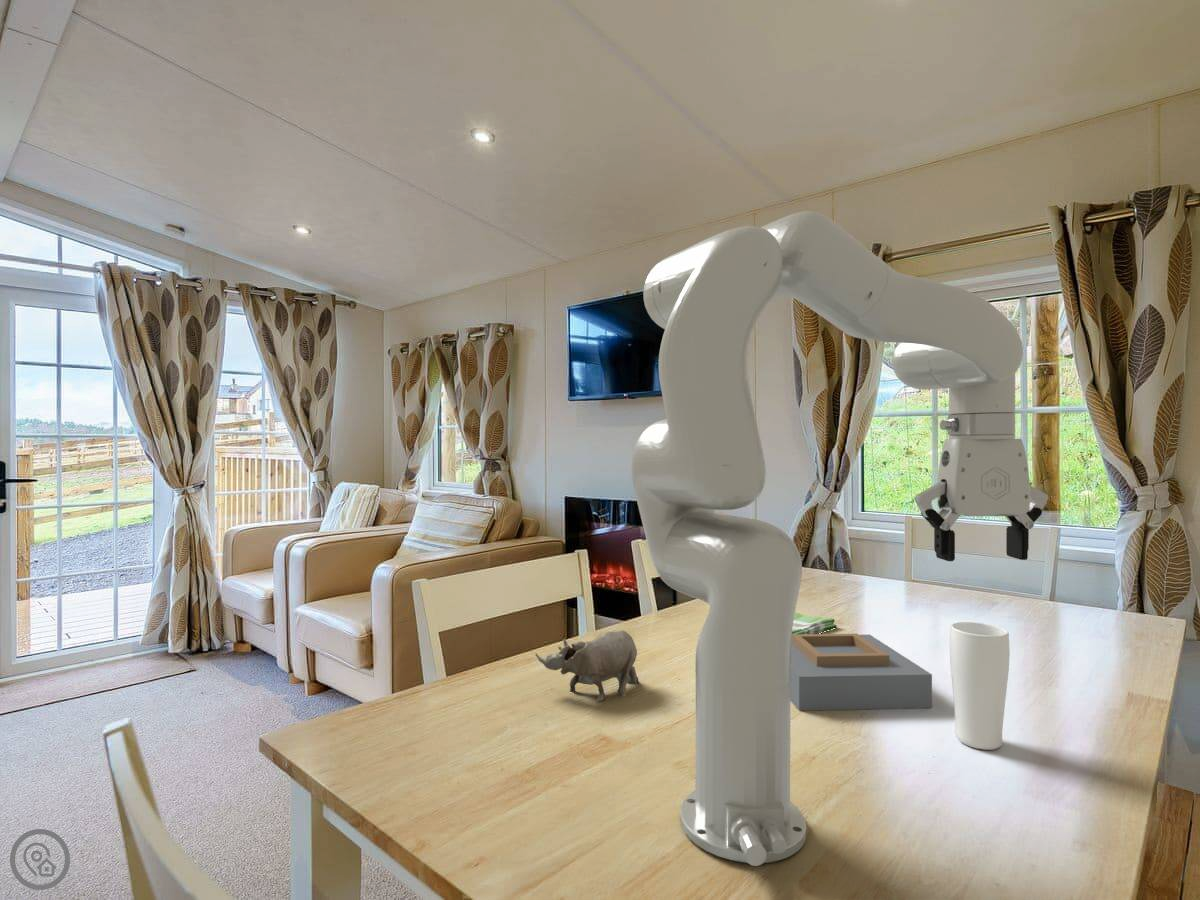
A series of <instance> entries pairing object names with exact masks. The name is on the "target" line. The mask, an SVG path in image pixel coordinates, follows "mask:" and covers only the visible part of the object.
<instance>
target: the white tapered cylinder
mask: <svg viewBox="0 0 1200 900" xmlns="http://www.w3.org/2000/svg"><path fill="white" fill-rule="evenodd" d="M1010 654H1011V653H1010V633H1009V631H1008V630H1006V629H1004V628H1002V627H1000V626H996V625H993V624H988V623H982V622H974V621H973V622H972V621H971V622H970V621H960V622H954V623H953V624H951V625H950V634H949V660H950V661H949V662H950V675H951V685H952V695H953V708H954V709H953V710H954V726H955V727H954V733H955V737H956V739H957V740H958V741H959V742H961V743H962V744H964V745H966V746H968V747H971V748H973V749H978V750H984V751H993V750H998V749H999V748H1000V747H1001V746H1002V744H1003V729H1004V728H1003V727H1004V717H1005V707H1006V700H1007V698H1006V697H1007V691H1008V690H1007V688H1008V681H1009V671H1010Z"/></svg>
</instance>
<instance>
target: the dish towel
mask: <svg viewBox="0 0 1200 900" xmlns="http://www.w3.org/2000/svg"><path fill="white" fill-rule="evenodd" d="M837 627H838V626H837V624H835V619H834V618H831V617H818V616H812V615H805V614H804V615H803V614H801V613H798V612H797V611H795V614H794V620H793V628H792V634H819V633H821V632H822V633H823V632H824V631H827V630H831V629H833V628H836V629H838V628H837ZM823 634H824V633H823Z"/></svg>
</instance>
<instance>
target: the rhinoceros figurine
mask: <svg viewBox="0 0 1200 900" xmlns="http://www.w3.org/2000/svg"><path fill="white" fill-rule="evenodd" d="M563 646H564V647H563V648H562V646H558V647H557V648H558V650H559V652H557V653H555V654H552V653H548V655H547V656H546V657H545V658H543V657H541V656H539V654H537V652H535V656H536V658H537V660H538V661H539V662H540V663H541V664H542V665H544V667H545V668H546V669H548V670H550V671H558V670H560V673H561V675H566V674H567V673H572V674H574V676H572V678H571V679H570V682H569V687H570V688H569V691H568V693H569V692H572V693H571V694H573V693H575V691H576V685H577V684H578V683H579V684H582V685H589V686H590V685H591V686H592V685H595V686H597V689H598V693H599V694H598V695H597V699H596V702H597V703H600V702H602V701H603V700H605V695H606V693H605V689H604V687H603V682H606V681H608V680H611V679H613V678H614V679H617V681H618V689H617V690H616V692H617V696H619V697H626V696H627V687H626V686H627V685H628V684H629V685H631V686H632V685H633V686H634V685H638V683H639V677H638V676H637V671H636V667H635V666H634V664H635V662H636V659H637V656H638V654H637V653H638V649H637V645H636V643H635V641H634V639H633V638H632V636H631V634H630V633H628V631H626V630H622V629H621V630H615V631H606V632H604V633H602V634H600V635H599V636H597V637H595V638H594V639H593V640H591V641H585V642H584V641H582V640H579V641H575V642H572V643H571V646H570V645H569V643H568V641H567V639H565V638H563Z"/></svg>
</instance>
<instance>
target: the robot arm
mask: <svg viewBox="0 0 1200 900" xmlns="http://www.w3.org/2000/svg"><path fill="white" fill-rule="evenodd" d="M642 294H643V303H644V307H645V309H646V312H647V314H648V315H649V317H650V319H651V320H652V321H653V322H654V323H655V324H656V325H657V326H659V327H660V328H661V329H663V330H664V332H663V334H662V339H661V343H660V348H659V353H658V377H659V378H658V380H659V385H660V390H661V396H662V402H663V407H664V413H665V418H664V419H662V420H658V421H655V422H653V423H652V424H651V425H649V426H648V427H646V429H644V430H643V432H642V433H641V434H640V436H639V437H638V439H637V441H636V443H635V445H634V449H633V452H632V457H631V469H630V470H631V480H632V486H633V490H634V494H635V499H636V502H637V506H638V511H639V516H640V519H641V520H640V521H641V523H642V527H643V532H644V535H645V539H646V544H647V548H648V552H649V554H650V558H651V561H652V564H653V566H654V569H655V571H656V573H657V575H658V576H659V578H660V579H661V580H662V582H664V584H666V586H668V587H670V588H671V589H673V590H675V591H677V592H678V593H680V594H683V595H686V596H688V597H692V598H694V599H697V600H699V601H702V602H705V603H707V604H709V609H708V614H707V616H706V619H705V620H704V623H703V625H702V628H701V630H700V633H699V635H698V638H697V642H696V643H697V644H696V647H695V648H696V649H695V778H694V779H695V783H694V784H695V785H694V786H695V790H693V791H692V792H691V793H690V794H688V795H687V796H686V797H685V799H683V801H682V804H681V806H680V814H679V815H680V817H679V819H680V824H681V825H680V826H681V828H682V830H683V831H684V834H685V835H686V836H687V837H688V839H689V840H690V841H691V842H693V843H694V844H695V845H696V846H697V847H699V848H701V849H702V850H705V851H706V852H708V853H710V854H712V855H714V856H717V857H719V858H722V859H726V860H729V861H733V862H739V863H746V864H749V865H750V866H752V867H753V866H754V867H758V866H760V865H763V864H766V863H773V862H778V861H781V860H784V859H787V858H789V857H791V856H793V855H794V854H796V853H797V852H799V851H800V849H801V848H802V847H803V846H804V844H805V842H806V839H807V822H806V818H805V816H804V813H802V811H801V810H800V809H799V807H797V805H795V804H794V803H793V802H792V801H791V701H790V700H791V641H792V628H793V620H794V614H795V612H796V608H797V602H798V599H799V594H800V589H801V584H802V578H803V566H802V565H803V563H802V557H801V554H800V551H799V549H798V547H797V545H796V543H795V542H794V541H793V539H792V538H791V537H790V536H789V535H788V534H787V533H786V532H785V531H783V530H782V529H781V528H779V527H777V526H776V525H773V524H771V523H768V522H766V521H762V520H759V519H754V518H749V517H743V516H736V515H729V514H721V513H720V514H719V513H716V511H717V510H721V511H722V510H723V511H725V510H727V511H732V510H738V509H742V508H745V507H748V506H749V505H751V504H752V503H755V501H756V500H757V499H758V498H759V497H760V495H761V494H762V492H763V489H764V488H765V484H766V474H767V473H766V462H765V455H764V451H763V444H762V441H761V437H760V431H759V426H758V422H757V417H756V413H755V408H754V402H753V399H752V394H751V389H750V385H749V384H750V383H749V377H748V369H747V354H748V346H749V344H750V343H749V342H750V339H751V336H752V334H753V332H754V331H753V330H754V328H755V326H756V324H757V323H758V320H759V318H760V317H761V315H762V314H763V312H764V310H765V309H766V307H767V306H768V305H769V303H773V302H776V301H780V300H783V299H789V298H790V299H794V300H797V301H798V302H800V303H801V304H802V305H804V306H806V307H807V308H809V309H810V310H812V311H813V312H814V313H816V314H817V315H818V316H820V317H822V318H824V319H825V320H826V321H827V322H828V323H830V324H832V325H833V326H834V327H836V328H838V330H840V331H841V332H843V333H844V334H845V335H848V336H850V337H853V338H857V339H861V340H868V341H874V342H881V343H897V346H896V347H895V349H894V351H893V353H892V358H891V365H892V369H893V372H894V374H895V376H896V377H897V379H898V380H899V381H900V382H901V383H903V384H904V385H905V386H908V387H909V388H912V389H917V390H939V389H948V415H947V418H946V419H942V420H940V422H939V427H940V430H941V431H947V435H948V439H947V438H946V439H944V441H943V443H942V448H941V451H940V459H939V466H938V470H937V471H938V474H937V483H936V484H934V485H932V486H931V487H929V488H927V489H924V490H923V491H921V492H920V493H918V494H916V495H915V496H914V502H915V503H916V506H917V507H918V509H919V510H920V514H921V516H922V517H923V518H924V519H925V520H926V521H927V523H929V526H930V527H931V528H933V529H934V530H933V531H934V533H933V536H934V537H933V538H934V539H933V540H934V542H933V544H934V545H933V547H934V552H935V556H936V558H937V559H940V560H942V561H943V560H944V561H946V562H954V561H955V560H956V542H955V541H956V533H955V531H954V530H951V528H952V527H953V525H954V524H955V523H956V522H957V520H958V519H959V517H961V516H964V517H1005V518H1006V520H1007V521H1008V523H1010V525H1007V526H1006V530H1005V531H1006V534H1005V535H1006V542H1005V543H1006V547H1005V548H1006V549H1005V550H1006V555H1007V556H1008V557H1010V558H1014V559H1018V560H1021V561H1026V560H1028V558H1029V557H1028V556H1029V555H1028V554H1029V544H1030V542H1029V541H1030V540H1029V537H1030V535H1029V530H1032V529H1033V528H1034V525H1035V524H1034V523H1035V522H1037V520H1038V519H1039V518H1040V517H1041V516H1042V514H1043V509H1044V508H1045V506H1046V503H1047V501H1048V500H1049V495H1048V494H1047V493H1045V492H1043V491H1041V490H1040V489H1037V488H1036V487H1033V486H1032V485H1030V473H1029V464H1028V459H1027V454H1026V450H1025V449H1026V448H1025V446H1024V443H1023V439H1022V438H1016V372H1017V371H1018V370H1019V368H1020V367H1021V364H1022V361H1023V359H1024V358H1023V357H1024V346H1023V342H1022V339H1021V336H1020V334H1019V332H1018V330H1017V329H1016V327H1015V325H1014V324H1013V323H1012V322H1011V321H1010V320H1009V319H1008V318H1007V317H1006V316H1005V315H1004V314H1003V313H1002V312H1001V311H1000V310H999V309H998V308H996V307H995V306H994V305H993V304H992V303H990V302H989V301H988V300H986V299H985V298H984V297H982V296H980V295H978V294H976V293H974V292H972V291H969V290H966V289H963V288H960V287H958V286H953V285H949V284H945V283H942V282H938V281H934V280H931V279H927V278H923V277H919V276H915V275H910V274H904V273H901V272H899V271H897V270H896V269H894V268H893V267H891V266H890V265H889V264H888V263H887V262H886V261H884V260H883V259H882V258H880V257H879V256H877V254H875V253H873V252H872V251H871V249H868V248H867V247H866V246H865V245H864V244H862V243H861V242H860V241H859V240H858V239H857V238H855V237H854V236H853V235H852V234H850V233H849V232H847V231H846V230H845V229H844V228H842V227H841V225H839V224H838V223H837V222H835V221H834V220H832V219H831V218H830V217H829V216H827V215H826V214H822V213H821V212H817V211H811V210H807V211H806V210H805V211H799V212H795V213H793V214H789V215H786V216H784V217H782V218H779V219H776V220H775V221H771V222H769V223H768V224H765V225H762V226H761V227H760V226H753V225H744V226H739V227H734V228H731V229H728V230H724V231H722V232H720V233H717V234H715V235H713V236H710V237H708V238H706V239H704V240H701V241H699V242H698V243H696V244H693V245H691V246H689V247H687V248H685V249H683V250H680V251H679V252H676V253H674V254H672V255H669V256H667V257H665V258H664V259H662V260H661V261H659V262H657V264H655V265H654V266H653V268H652V269H651V270H650V271H649V273H648V275H647V277H646V279H645V283H644V285H643V293H642ZM935 499H937V506H938V509H939V510H938V511H937V510H935V509H934V507H933V505H932V502H933V501H935ZM715 510H716V511H715Z"/></svg>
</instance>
